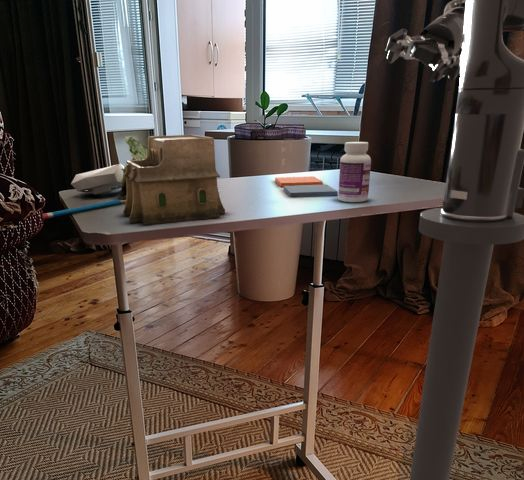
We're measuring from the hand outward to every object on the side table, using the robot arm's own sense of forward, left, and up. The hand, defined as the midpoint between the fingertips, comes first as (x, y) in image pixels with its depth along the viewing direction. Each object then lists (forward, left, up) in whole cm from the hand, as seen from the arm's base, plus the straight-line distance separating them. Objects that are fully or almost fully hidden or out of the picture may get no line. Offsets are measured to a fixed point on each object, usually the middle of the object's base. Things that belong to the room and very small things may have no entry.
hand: (411, 66), depth 90 cm
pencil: (+58, +9, -20) cm, 62 cm away
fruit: (+50, 0, -21) cm, 55 cm away
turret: (+57, -10, -22) cm, 62 cm away
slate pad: (+18, -1, -21) cm, 28 cm away
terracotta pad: (+18, -14, -21) cm, 31 cm away
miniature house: (+44, +15, -21) cm, 51 cm away
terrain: (+49, +1, -17) cm, 51 cm away
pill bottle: (+12, +9, -22) cm, 26 cm away
